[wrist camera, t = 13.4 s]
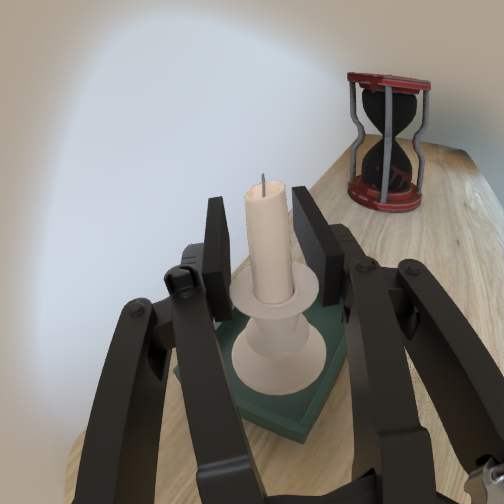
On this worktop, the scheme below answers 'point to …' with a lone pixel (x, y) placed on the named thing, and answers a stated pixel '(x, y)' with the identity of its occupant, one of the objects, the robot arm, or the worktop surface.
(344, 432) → the worktop surface
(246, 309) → the candle
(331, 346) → the tray
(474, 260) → the worktop surface
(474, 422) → the robot arm
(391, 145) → the hourglass
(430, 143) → the worktop surface
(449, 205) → the worktop surface
